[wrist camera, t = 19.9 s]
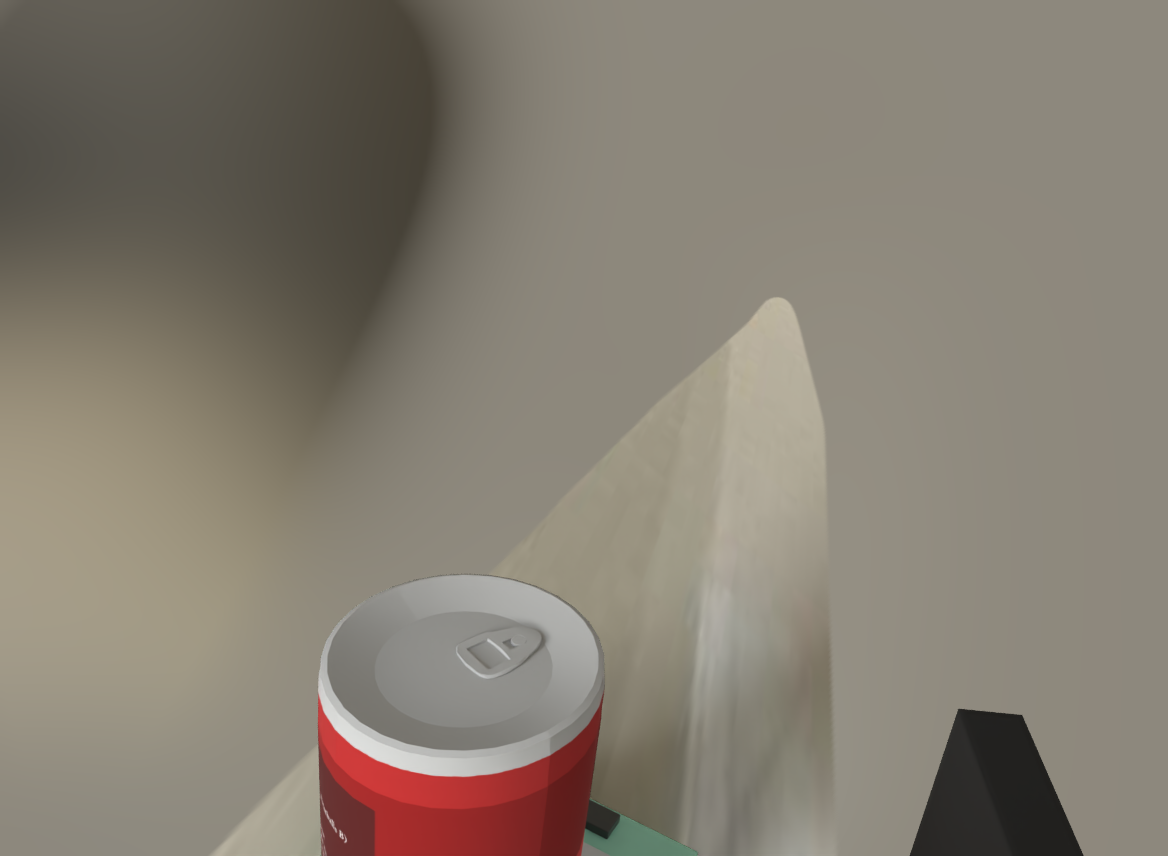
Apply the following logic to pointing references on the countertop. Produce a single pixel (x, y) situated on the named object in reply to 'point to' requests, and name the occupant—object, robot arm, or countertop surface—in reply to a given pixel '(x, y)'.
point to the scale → (625, 836)
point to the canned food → (458, 722)
